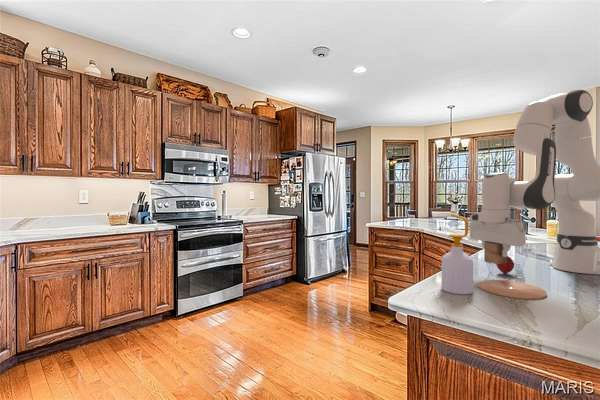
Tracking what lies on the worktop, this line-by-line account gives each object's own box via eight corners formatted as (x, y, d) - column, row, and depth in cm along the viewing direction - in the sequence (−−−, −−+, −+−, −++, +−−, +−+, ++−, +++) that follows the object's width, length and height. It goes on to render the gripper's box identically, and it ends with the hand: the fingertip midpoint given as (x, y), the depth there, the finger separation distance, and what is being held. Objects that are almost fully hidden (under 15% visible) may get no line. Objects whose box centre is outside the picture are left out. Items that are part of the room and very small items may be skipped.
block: (494, 260, 119) (494, 241, 119) (507, 262, 114) (507, 243, 114) (484, 261, 117) (484, 242, 117) (496, 264, 113) (496, 244, 112)
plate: (506, 280, 113) (506, 277, 113) (561, 295, 96) (561, 292, 96) (466, 284, 108) (466, 282, 108) (517, 302, 91) (517, 298, 91)
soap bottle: (444, 284, 108) (444, 212, 108) (474, 289, 103) (475, 213, 102) (438, 291, 101) (439, 214, 100) (470, 297, 95) (471, 215, 95)
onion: (517, 275, 120) (518, 254, 119) (502, 275, 120) (502, 254, 120) (507, 272, 125) (508, 251, 125) (493, 272, 126) (493, 251, 125)
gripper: (530, 218, 106) (530, 259, 107) (479, 214, 126) (479, 249, 126) (516, 219, 104) (516, 261, 105) (466, 215, 124) (466, 250, 124)
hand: (495, 254), depth 116 cm, fingers closed on block, 5 cm apart
